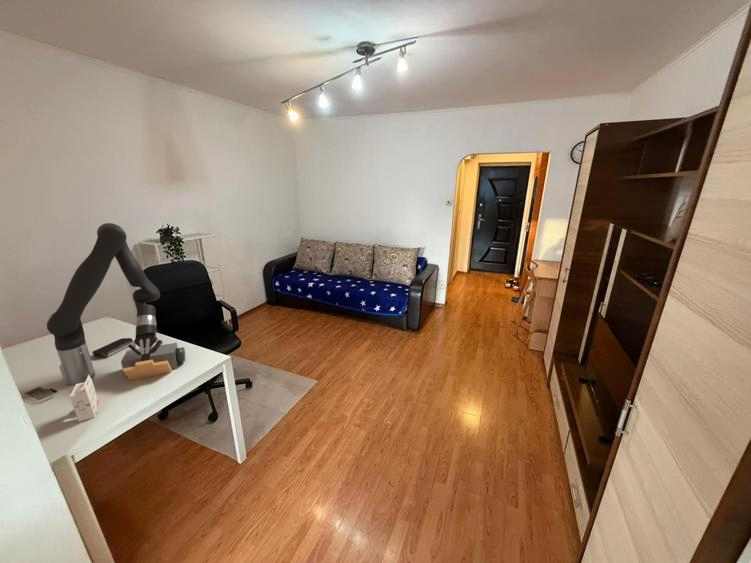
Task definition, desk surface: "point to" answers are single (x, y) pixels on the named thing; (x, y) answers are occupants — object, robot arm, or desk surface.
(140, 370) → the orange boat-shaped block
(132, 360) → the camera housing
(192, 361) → the desk surface
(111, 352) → the black sponge
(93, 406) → the ink cartridge box
